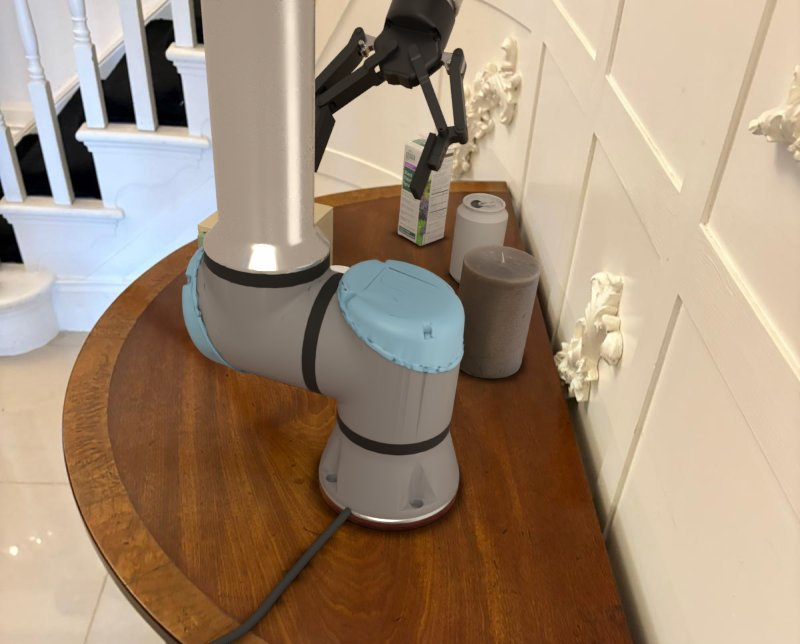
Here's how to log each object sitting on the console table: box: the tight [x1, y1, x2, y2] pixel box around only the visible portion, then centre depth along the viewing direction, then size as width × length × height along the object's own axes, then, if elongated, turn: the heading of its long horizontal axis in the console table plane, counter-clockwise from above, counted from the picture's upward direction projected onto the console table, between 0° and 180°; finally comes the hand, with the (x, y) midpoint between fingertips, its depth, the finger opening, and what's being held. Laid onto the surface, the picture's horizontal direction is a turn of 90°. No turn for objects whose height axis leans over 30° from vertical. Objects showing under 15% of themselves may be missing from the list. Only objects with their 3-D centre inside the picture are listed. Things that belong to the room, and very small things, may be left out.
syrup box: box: [397, 136, 456, 247], centre depth 125 cm, size 6×6×14 cm
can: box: [449, 192, 509, 284], centre depth 117 cm, size 8×8×12 cm
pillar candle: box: [457, 245, 543, 379], centre depth 100 cm, size 10×10×15 cm
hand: (361, 180), depth 91 cm, fingers open, 13 cm apart
